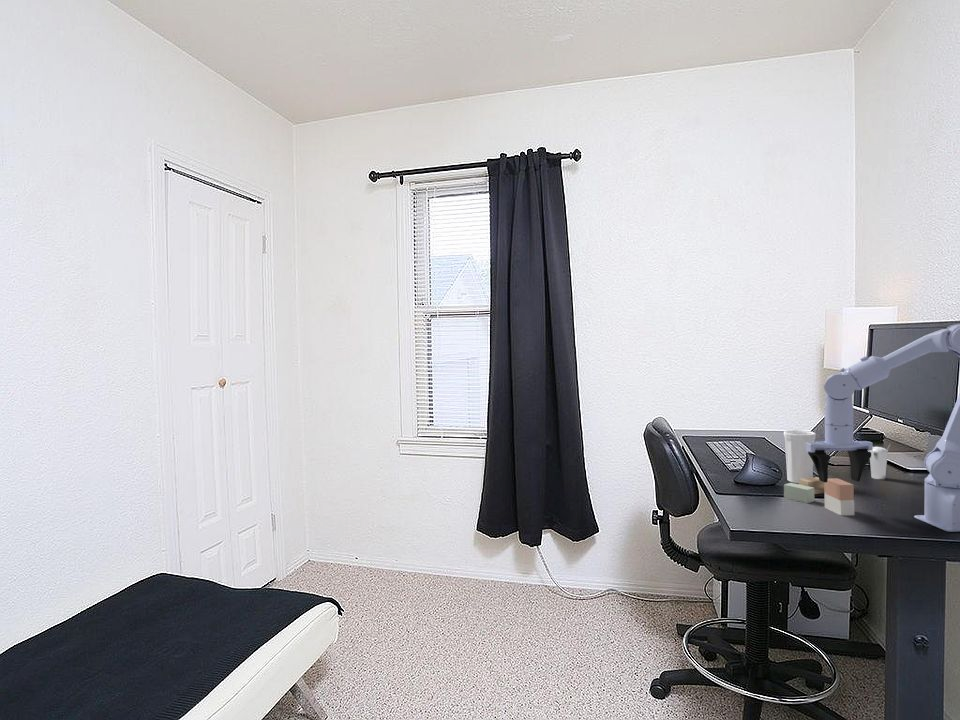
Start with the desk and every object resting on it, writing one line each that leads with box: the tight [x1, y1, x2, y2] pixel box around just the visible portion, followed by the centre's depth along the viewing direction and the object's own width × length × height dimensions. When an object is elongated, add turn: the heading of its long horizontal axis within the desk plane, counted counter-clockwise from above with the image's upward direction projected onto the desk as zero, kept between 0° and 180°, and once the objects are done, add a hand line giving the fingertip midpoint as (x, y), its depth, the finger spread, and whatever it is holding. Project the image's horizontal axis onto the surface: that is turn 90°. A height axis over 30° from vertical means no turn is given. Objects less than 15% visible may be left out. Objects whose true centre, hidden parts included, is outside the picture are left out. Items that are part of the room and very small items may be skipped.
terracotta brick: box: [823, 477, 855, 501], centre depth 133 cm, size 6×3×4 cm, turn 179°
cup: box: [783, 429, 817, 484], centre depth 159 cm, size 8×8×14 cm
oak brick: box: [798, 476, 825, 495], centre depth 149 cm, size 6×3×4 cm, turn 102°
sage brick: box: [783, 482, 815, 504], centre depth 143 cm, size 6×3×4 cm, turn 31°
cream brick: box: [824, 493, 855, 516], centre depth 133 cm, size 6×3×4 cm, turn 1°
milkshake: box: [868, 443, 891, 480], centre depth 161 cm, size 4×5×10 cm
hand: (839, 480), depth 133 cm, fingers open, 7 cm apart
